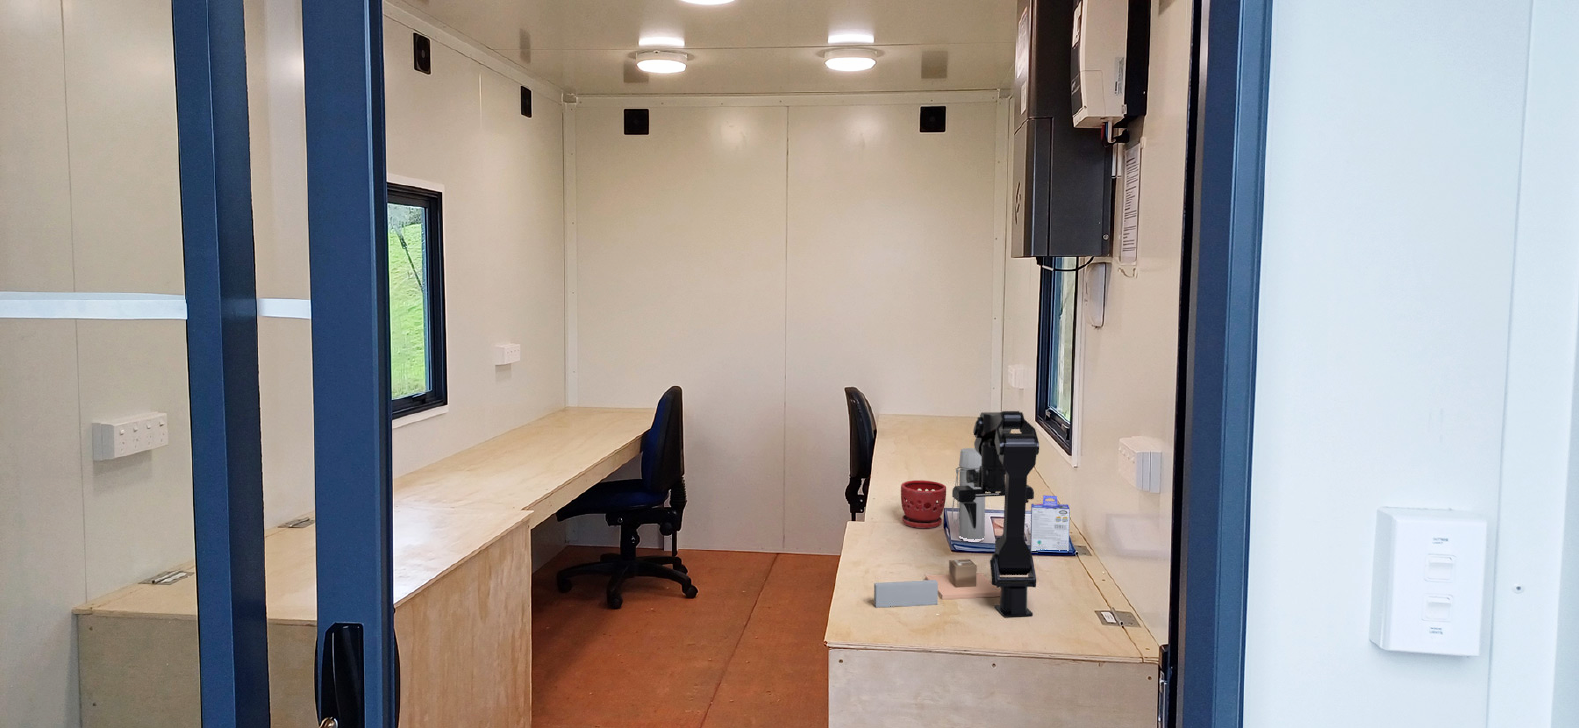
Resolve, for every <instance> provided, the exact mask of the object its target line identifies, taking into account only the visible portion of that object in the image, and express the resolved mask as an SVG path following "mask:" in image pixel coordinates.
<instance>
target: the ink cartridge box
mask: <svg viewBox="0 0 1579 728" xmlns="http://www.w3.org/2000/svg"><path fill="white" fill-rule="evenodd" d="M1047 499H1053V500H1054V501H1052V500H1047ZM1030 509H1031V510H1030V551H1036V550H1040V549H1041V550H1042V549H1045V550H1046V549H1048V550H1059V551H1060V550H1067V551H1069V549H1070V524H1071V523H1070V519H1071V516H1070V514H1071V512H1070V510H1071V509H1070V506H1069V504H1067V503H1066V504H1065V503H1063V504H1061V503H1060V504H1058V496H1057V495H1043V498H1042V503H1031V507H1030Z"/></svg>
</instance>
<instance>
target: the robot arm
mask: <svg viewBox="0 0 1579 728" xmlns="http://www.w3.org/2000/svg"><path fill="white" fill-rule="evenodd" d="M1012 430H1019V432H1020V433H1019V432H1018V433H1014V432H1013V433H1011V432H1012ZM973 436H974V437H975V440H974V442H973V445H974V448H975V449H976V451H977V452H978V453H979V454H980V455H981V456H982V457H981V466H980V468H979V472H976V470H975V469H971V470H967V471H966V480H967V483H974V487H981V489H973V488H971V487H970V486H968V485H967V486H959V485H958V486H957V485H956V486H955V485H954V486H953V488H952V496H951V497H952V498H953V499H954V498H955V500H956V502H957V501H958V502H961V503H962V504H963V505H965V507H966V510H967V512H968V515H969V518H970V521H971V524H972V527H973V528H974V529H976V510H977V503H975V502H974V500H975V499H976V497H985V498H987V497H988V498H989V497H1004V507H1003V508H1004V509H1003V525H1002V526H1003V531H1002V534H1001V536H1000V537H996V539H995V541H994V553H992V555H991V559H990V560H989V566H990V576H991V580H990V581H991V584H992V585H995V586H996V587H997V588H999V590H1000V596H999V598H1000V601H999V603H1000V604H995V605H994V608H995V609H996V610H997V611H998V612H999V614H1001V616H1003V617H1004V618H1012V617H1013V618H1014V617H1032V616H1033V615H1034V613H1033V611H1032V610H1030V609H1029V608H1028V588H1036V587H1037V586H1036V585H1037V575H1036V570H1035V565H1034V558H1033V554H1032V552H1031V548H1029V546H1028V543H1026V541H1025V525H1026V509H1027V507H1026V506H1027V505H1026V504H1029V500H1035V491H1034V488H1033V487H1031V486H1030V485H1028V475H1029V474H1030V473H1031V471H1033V469H1034V467H1035V466H1036V464H1037V463H1036V462H1037V456H1038V455H1039V453H1040V442H1039V438H1038V435H1037V430H1036V428H1035V427H1034V426H1033V425H1032V424H1031V423H1029V422H1028V421H1027V420H1026V419H1025V416H1024V413H1023V412H1021V411H1020V410H1002V411H1001V412H991V411H990V412H986V411H985V412H983V411H982V412H981V413H980V414H979V416H978V417H977V419H976V421H975V423H974V427H973Z"/></svg>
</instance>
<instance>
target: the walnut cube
mask: <svg viewBox="0 0 1579 728" xmlns="http://www.w3.org/2000/svg"><path fill="white" fill-rule="evenodd" d="M948 562H949V563H948V574H949V581H950V582H951V583H952V584H953V585H954V587H955V588H958V587H976V576H977V573H978V572H977V571H978V569H977V568H978V567H977V564H976V563H974V562H973V560H972V559H970V558H966V559H963V558H962V559H950V560H948Z"/></svg>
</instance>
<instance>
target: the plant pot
mask: <svg viewBox="0 0 1579 728" xmlns="http://www.w3.org/2000/svg"><path fill="white" fill-rule="evenodd" d="M900 499H901V500H900V501H901V502H900V503H901V508H902V511H903V513H904V515H902V517H901V519H902V522H903V523H904V524H905V525H906V526H909V527H911V528H915V529H932V528H937V527H939V526H940V525H941V524H942V522H943V518H942V517H941V516H942V515H943V513H944V509H945V506H946V500H947V487H946V485H945V484H943V483H940V482H937V481H931V480H923V479H920V480H908V481H905V482H902V483H901V485H900Z"/></svg>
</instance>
